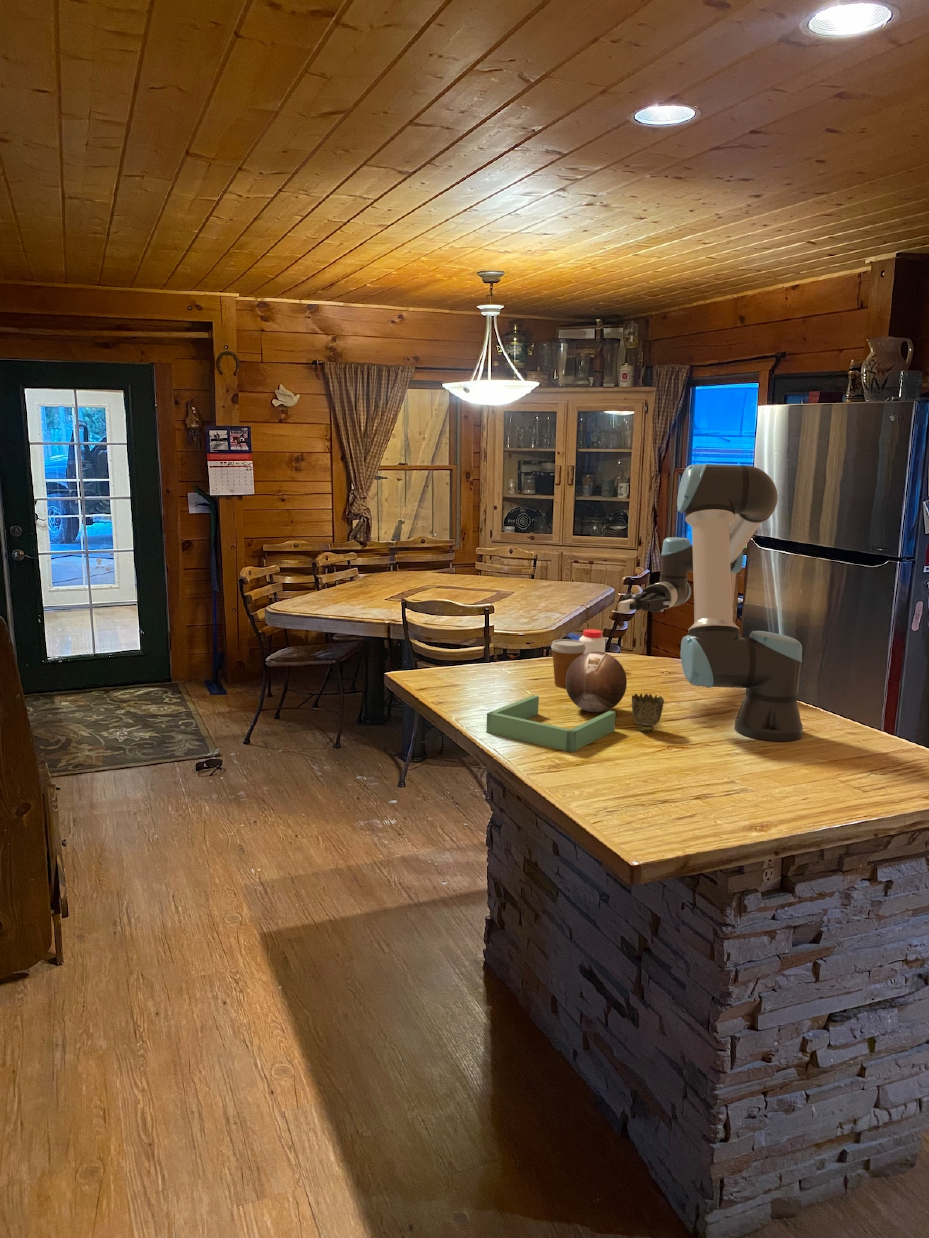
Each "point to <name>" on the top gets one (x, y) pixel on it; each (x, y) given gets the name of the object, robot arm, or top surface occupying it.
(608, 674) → the wooden sphere
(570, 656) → the disposable coffee cup
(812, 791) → the top surface
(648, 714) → the cup
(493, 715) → the green bracket
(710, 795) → the top surface
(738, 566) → the robot arm
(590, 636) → the pill bottle
